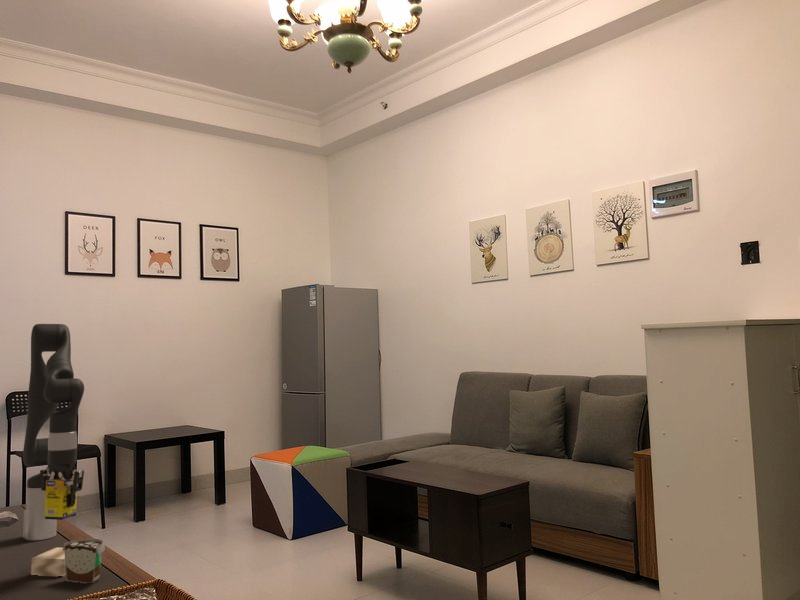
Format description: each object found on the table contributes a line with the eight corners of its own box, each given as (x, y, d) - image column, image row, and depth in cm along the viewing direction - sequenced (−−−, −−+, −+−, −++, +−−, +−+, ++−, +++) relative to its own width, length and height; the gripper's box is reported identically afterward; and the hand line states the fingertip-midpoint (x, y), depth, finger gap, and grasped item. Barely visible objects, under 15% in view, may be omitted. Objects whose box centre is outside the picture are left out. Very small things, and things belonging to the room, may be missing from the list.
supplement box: (62, 520, 179) (63, 480, 180) (44, 519, 180) (45, 480, 181) (77, 514, 185) (77, 476, 186) (59, 514, 186) (60, 476, 187)
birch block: (31, 576, 177) (31, 558, 177) (55, 564, 187) (56, 547, 187) (63, 577, 176) (63, 559, 176) (86, 565, 185) (86, 548, 186)
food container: (114, 577, 174) (115, 539, 175) (97, 584, 168) (98, 546, 169) (80, 573, 178) (80, 536, 179) (61, 580, 172) (62, 542, 173)
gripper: (92, 446, 186) (91, 504, 184) (53, 445, 190) (51, 502, 189) (72, 449, 179) (70, 510, 177) (32, 448, 183) (30, 508, 181)
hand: (61, 506), depth 183 cm, fingers closed on supplement box, 6 cm apart
